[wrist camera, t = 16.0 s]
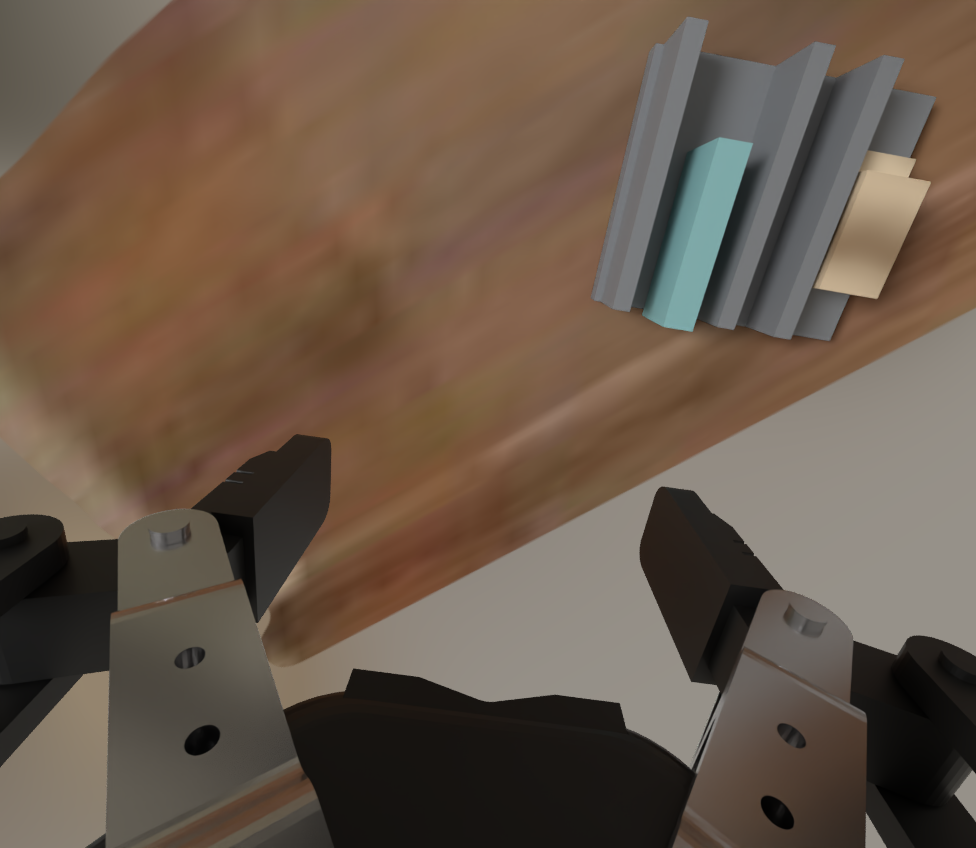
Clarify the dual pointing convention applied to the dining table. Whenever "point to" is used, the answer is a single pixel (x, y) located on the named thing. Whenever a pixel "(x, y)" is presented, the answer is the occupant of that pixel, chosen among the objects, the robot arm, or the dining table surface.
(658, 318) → the teal slat
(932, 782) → the robot arm
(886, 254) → the offcut top
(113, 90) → the dining table surface
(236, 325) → the dining table surface
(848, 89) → the rack
